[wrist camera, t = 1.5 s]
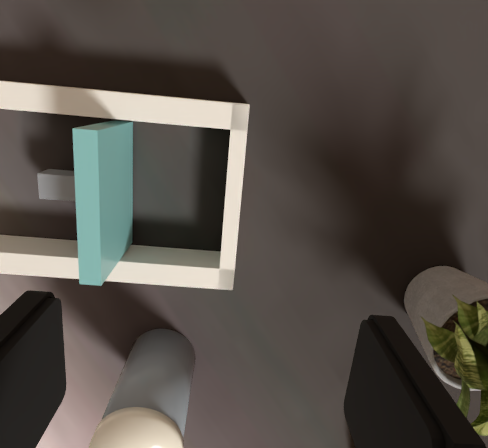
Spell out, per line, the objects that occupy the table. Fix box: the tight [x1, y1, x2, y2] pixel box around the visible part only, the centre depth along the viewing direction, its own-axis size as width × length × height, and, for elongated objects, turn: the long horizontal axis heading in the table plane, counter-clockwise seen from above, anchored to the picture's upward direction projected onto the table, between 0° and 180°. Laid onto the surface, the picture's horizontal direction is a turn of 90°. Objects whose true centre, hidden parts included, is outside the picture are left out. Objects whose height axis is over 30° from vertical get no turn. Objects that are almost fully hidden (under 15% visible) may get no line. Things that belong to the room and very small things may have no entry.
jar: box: [89, 329, 195, 448], centre depth 27 cm, size 5×5×9 cm
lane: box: [0, 80, 250, 290], centre depth 24 cm, size 12×22×5 cm, turn 85°
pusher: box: [37, 120, 133, 286], centre depth 23 cm, size 8×5×7 cm, turn 175°
